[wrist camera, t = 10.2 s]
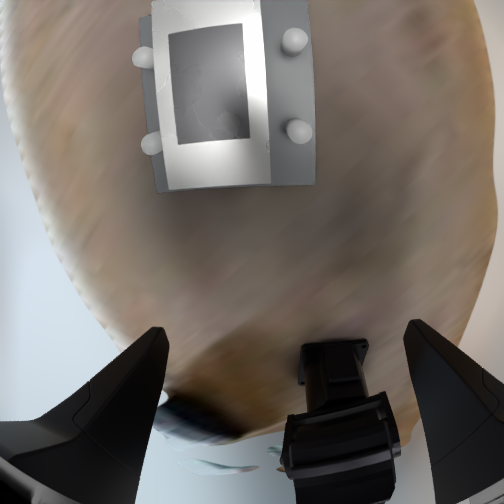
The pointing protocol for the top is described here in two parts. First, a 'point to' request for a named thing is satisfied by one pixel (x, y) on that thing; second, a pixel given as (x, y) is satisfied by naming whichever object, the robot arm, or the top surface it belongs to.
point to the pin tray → (278, 96)
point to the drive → (211, 92)
